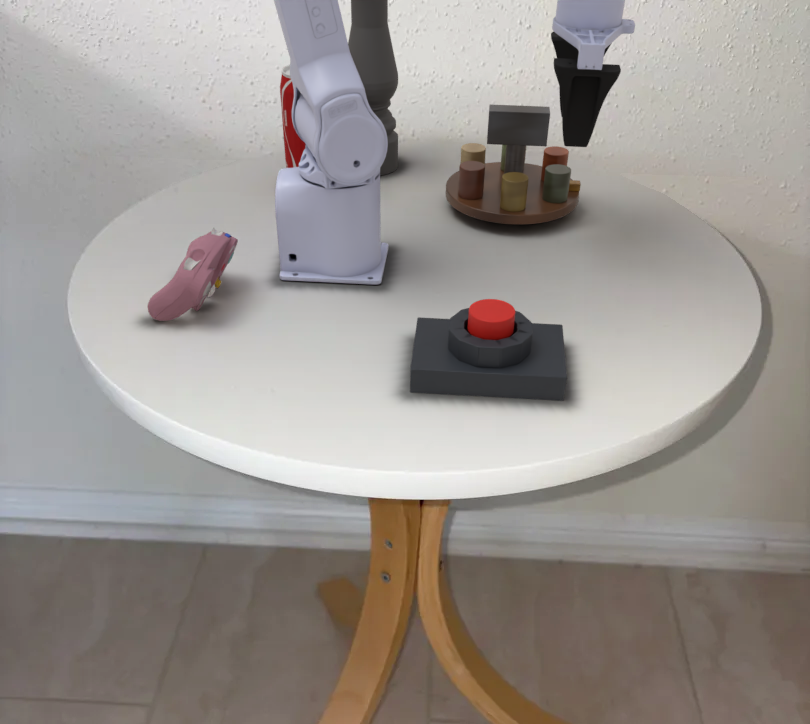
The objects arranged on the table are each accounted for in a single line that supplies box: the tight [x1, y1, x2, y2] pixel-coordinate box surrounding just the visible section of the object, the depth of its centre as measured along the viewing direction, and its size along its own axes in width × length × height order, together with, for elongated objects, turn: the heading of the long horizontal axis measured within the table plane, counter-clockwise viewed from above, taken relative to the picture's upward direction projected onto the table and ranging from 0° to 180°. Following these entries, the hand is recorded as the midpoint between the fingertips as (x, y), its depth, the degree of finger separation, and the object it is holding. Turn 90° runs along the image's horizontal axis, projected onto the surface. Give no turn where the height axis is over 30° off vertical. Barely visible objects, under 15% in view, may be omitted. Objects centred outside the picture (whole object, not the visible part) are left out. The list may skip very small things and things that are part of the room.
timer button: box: [468, 298, 516, 340], centre depth 71 cm, size 4×4×2 cm
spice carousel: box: [445, 104, 582, 225], centre depth 93 cm, size 14×14×9 cm
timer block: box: [409, 307, 568, 402], centre depth 72 cm, size 12×8×4 cm, turn 85°
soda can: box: [279, 64, 306, 168], centre depth 97 cm, size 6×6×12 cm
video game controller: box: [147, 227, 239, 322], centre depth 80 cm, size 10×5×7 cm, turn 168°
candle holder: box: [347, 0, 399, 176], centre depth 97 cm, size 6×6×25 cm
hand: (573, 130), depth 85 cm, fingers open, 7 cm apart
